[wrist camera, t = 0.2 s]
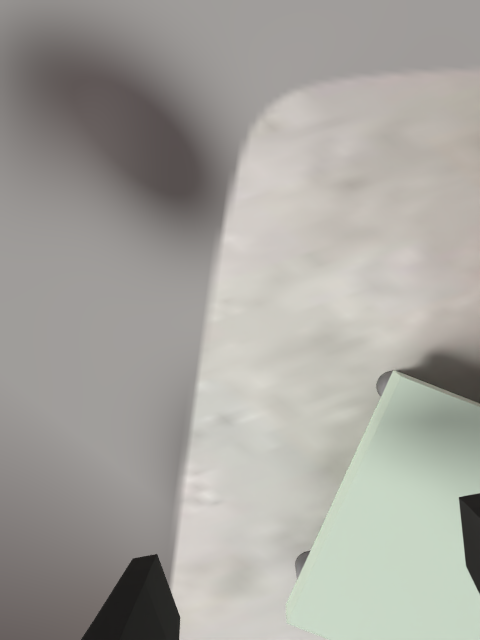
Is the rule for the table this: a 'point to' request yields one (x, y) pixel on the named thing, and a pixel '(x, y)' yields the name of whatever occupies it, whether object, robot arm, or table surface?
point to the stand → (398, 526)
